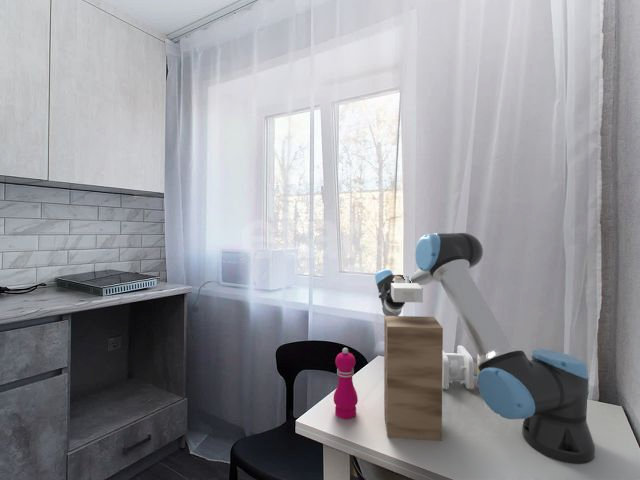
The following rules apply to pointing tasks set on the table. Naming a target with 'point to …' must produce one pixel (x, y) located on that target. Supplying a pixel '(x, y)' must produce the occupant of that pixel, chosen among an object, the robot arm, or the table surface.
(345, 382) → the pepper mill
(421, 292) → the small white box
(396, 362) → the walnut stand
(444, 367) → the cable organizer
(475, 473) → the table surface
